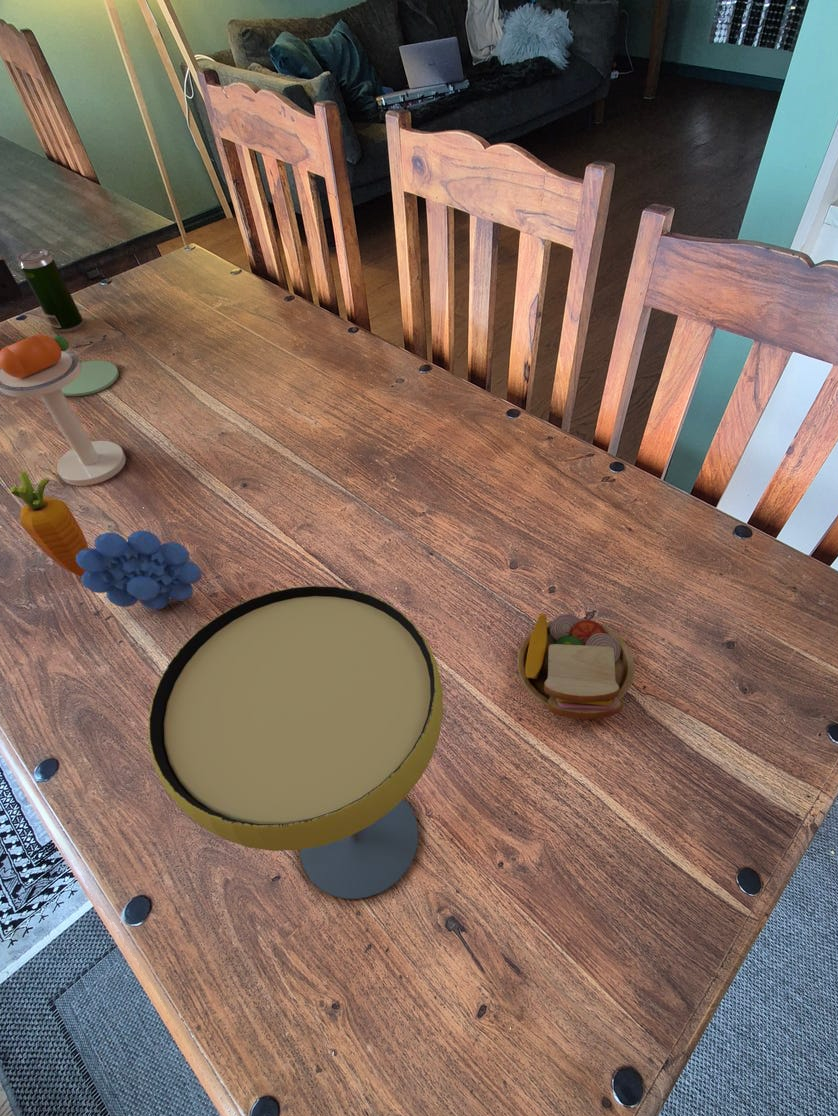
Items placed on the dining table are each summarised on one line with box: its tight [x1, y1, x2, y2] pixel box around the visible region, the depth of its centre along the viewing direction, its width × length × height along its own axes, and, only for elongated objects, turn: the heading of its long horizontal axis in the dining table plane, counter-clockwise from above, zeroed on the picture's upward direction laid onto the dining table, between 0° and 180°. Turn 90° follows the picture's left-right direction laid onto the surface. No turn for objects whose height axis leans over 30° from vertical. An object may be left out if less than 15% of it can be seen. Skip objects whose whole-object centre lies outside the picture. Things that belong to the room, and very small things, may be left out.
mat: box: [61, 359, 120, 397], centre depth 108 cm, size 10×10×1 cm
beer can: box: [16, 248, 84, 334], centre depth 115 cm, size 5×5×12 cm
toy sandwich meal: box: [516, 613, 635, 720], centre depth 70 cm, size 12×14×5 cm
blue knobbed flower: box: [76, 529, 202, 611], centre depth 73 cm, size 12×7×12 cm, turn 112°
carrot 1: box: [0, 333, 70, 378], centre depth 81 cm, size 8×4×4 cm, turn 138°
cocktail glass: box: [147, 585, 444, 900], centre depth 51 cm, size 18×18×25 cm
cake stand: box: [0, 348, 127, 487], centre depth 89 cm, size 10×10×15 cm
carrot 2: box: [10, 471, 89, 577], centre depth 75 cm, size 5×5×15 cm
